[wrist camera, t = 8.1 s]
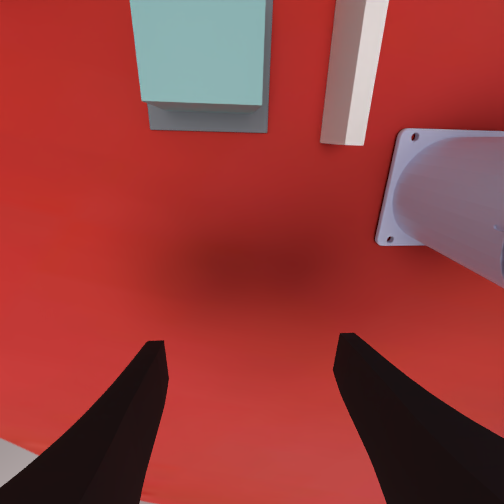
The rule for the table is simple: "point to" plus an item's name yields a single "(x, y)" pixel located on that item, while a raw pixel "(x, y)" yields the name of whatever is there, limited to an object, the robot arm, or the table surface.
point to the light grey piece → (352, 70)
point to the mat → (222, 121)
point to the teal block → (200, 54)
